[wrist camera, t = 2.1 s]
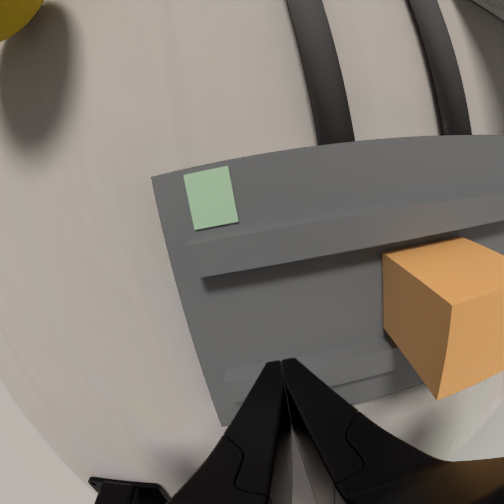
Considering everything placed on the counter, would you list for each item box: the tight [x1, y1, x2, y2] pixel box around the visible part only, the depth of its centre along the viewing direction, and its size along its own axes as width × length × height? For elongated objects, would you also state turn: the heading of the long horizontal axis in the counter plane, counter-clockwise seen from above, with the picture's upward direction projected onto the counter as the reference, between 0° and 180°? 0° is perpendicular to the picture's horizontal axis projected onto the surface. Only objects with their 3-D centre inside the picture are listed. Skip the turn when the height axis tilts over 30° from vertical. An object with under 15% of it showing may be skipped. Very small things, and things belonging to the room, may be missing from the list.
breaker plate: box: [151, 135, 504, 426], centre depth 12 cm, size 12×20×2 cm, turn 100°
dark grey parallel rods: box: [287, 0, 472, 145], centre depth 10 cm, size 11×7×1 cm, turn 10°
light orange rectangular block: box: [382, 236, 504, 400], centre depth 10 cm, size 3×4×5 cm
